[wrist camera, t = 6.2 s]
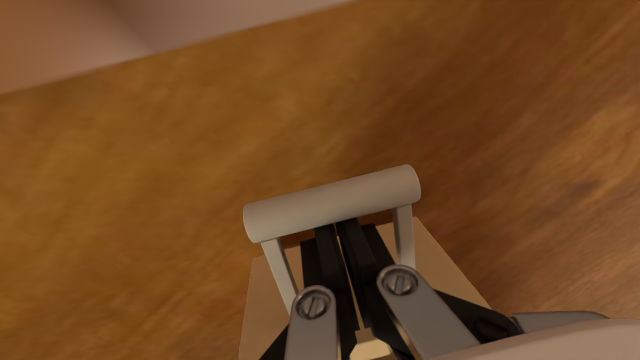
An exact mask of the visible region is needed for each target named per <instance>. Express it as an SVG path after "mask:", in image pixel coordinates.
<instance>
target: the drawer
mask: <svg viewBox="0 0 640 360" xmlns="http://www.w3.org/2000/svg"><path fill="white" fill-rule="evenodd" d="M420 197H421V188H420V183H419V179H418V177H417V174H416V172H415V170H414V169H413V167H412V166H410V165H408V164H405V165H401V166H397V167H393V168H389V169H385V170H381V171H377V172H373V173H369V174H365V175H361V176H357V177H353V178H348V179H344V180H340V181H336V182H332V183H328V184H324V185H320V186H316V187H312V188H308V189H304V190H300V191H296V192H292V193H288V194H284V195H280V196H276V197H272V198H268V199H264V200H260V201H256V202H252V203H248V204H246V205H245V206H244V208H243V220H244V225H245V229H246V232H247V235H248V237H249V239H250V240H251V241H252V242H254V243H256V242H260V241H261V245H262V248H263V250H264V253H265V255H261V256H257V257H253V260H252V267H251V274H250V281H249V287H248V294H247V301H246V308H245V315H244V322H243V328H242V335H241V342H240V349H239V356H238V360H259V359H260V357H261V356H262V355H263V354H264V353H265V351H266V350H267V349H268V348H269V347H270V345H271V344H272V343H273V342H274V340H275V339H276V338H277V337H278V336H279V334H280V333H281V332H282V331H283V330H284V328H285V327H286V326H287V325H288V324H289V320H290V312H291V305H292V302H293V300H294V298H295V297H296V295H297V294H298V293H299V292H300V291H301V290H303V289H304V282H303V272H302V261H301V250H300V246H297V247H293V248H289V249H285V250H284V248H283V246H282V243H281V240H280V236H284V235H288V234H292V233H296V232H300V231H304V230H308V229H312V228H316V227H320V226H324V225H328V224H332V223H336V222H340V221H344V220H348V219H352V218H356V217H359V216H363V215H367V214H371V213H375V212H379V211H383V210H387V209H391V208H392V217H393V222H391V223H387V224H383V225H380V226H376V228H377V230H378V232H379V234H380V236H381V238H382V239H383V241H384V243H385V245H386V247H387V249H388V250H389V252H390V254H391V256H392V258H393V260H394V262H395V263H396V264H402V265H406V266H409V267H411V268H414V269H415V270H416V271H417V272H419V273H420V275H421V276H422V277H423V278H424V279H425V280H426V282H427V283H428V284H429V285H430V286H431V287H432V288H433V289H436V290H439V291H441V292H444V293H447V294H450V295H452V296H455V297H458V298H461V299H464V300H466V301H469V302H472V303H475V304H477V305H480V306H483V307H486V308H488V309H491V310H492V308H491V307H490V306H489V305H488V304H487V302H486V301H485V300H484V299H483V297H482V296H481V295H480V294H479V293H478V291H477V290H476V289H475V288H474V286H473V285H472V284H471V283H470V282H469V280H468V279H467V278H466V277H465V276H464V274H463V273H462V272H461V271H460V269H459V268H458V267H457V266H456V265H455V263H454V262H453V261H452V260H451V258H450V257H449V256H448V255H447V254H446V252H445V251H444V250H443V249H442V248H441V246H440V245H439V244H438V243H437V241H436V240H435V239H434V238H433V237H432V235H431V234H430V233H429V232H428V230H427V229H426V228H425V227H424V226H423V224H422V223H421V222H420V221H419V220H418V218H417V217H412V207H411V203H415V202H418V201H419V200H420ZM337 239H338V242H339V246H340V249H341V245H340V241H339V236H337ZM341 252H342V250H341ZM342 256H343V254H342ZM343 259H344V258H343ZM344 262H345V261H344ZM345 266H346V265H345ZM346 270H347V268H346ZM347 273H348V271H347ZM348 278H349V275H348ZM349 282H350V286H351V291H352V295H353V300H354V304H355V309H356V313H357V318H358V322H359V326H360V330H358V331H355V334H356V338H357V344H356V346H355V348H354V349H353V351H352V353H351V354H350V356H351V360H393V358H392V356H391V354H390V352H389V350H388V347H387V344H386V343H384V342H383V341H381V340H379V339H377V338H375V337H373V335H372V332H371V328H366V329H365V328H364V325H363V321H362V318H361V315H360V311H359V308H358V305H357V301H356V298H355V295H354V291H353V288H352V285H351V281H350V278H349Z"/></svg>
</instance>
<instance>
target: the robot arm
mask: <svg viewBox="0 0 640 360" xmlns="http://www.w3.org/2000/svg"><path fill="white" fill-rule="evenodd" d="M336 228H337V232H338V236H339V241H340V245H341V249H340V246H339V242H338V239H337V236H336V232H335V229H334V226H333V223H332V224H328V225H324V226H320V227H316V228H314V230H315V236H316V238H313V239H309V240H305V241H301V242H300V250H301V261H302V272H303V282H304V289H303V290H301V291H300V292H299V293H298V294H297V295H296V297H295V298H294V300H293V302H292V305H291V312H290V320H289V324H288V325H287V326H286V327H285V328H284V330H283V331H282V332H281V333H280V334H279V336H278V337H277V338H276V339H275V340H274V342H273V343H272V344H271V345H270V347H269V348H268V349H267V350H266V351H265V353H264V354H263V355H262V356H261V357H260V359H259V360H351V356H350V354H351V353H352V351H353V349H354V348H355V346H356V344H357V338H356V334H355V331H358V330H360V326H359V322H358V318H357V313H356V309H355V304H354V300H353V295H352V291H351V286H350V282H349V278H350V281H351V285H352V288H353V291H354V295H355V298H356V301H357V305H358V308H359V311H360V315H361V318H362V321H363V325H364V328H365V329H366V328H371V332H372V335H373V337H375V338H377V339H379V340H381V341H383V342H384V343H386V344H387V347H388V350H389V352H390V354H391V356H392V358H393V360H640V320H639V319H610V318H608V317H606V316H604V315H601V314H598V313H595V312H591V311H554V312H524V313H513V315H512V317H506V316H505V315H503V314H500V313H498V312H496V311H494V310H491V309H488V308H486V307H483V306H480V305H477V304H475V303H472V302H469V301H466V300H464V299H461V298H458V297H455V296H452V295H450V294H447V293H444V292H441V291H439V290H436V289H433V288H432V287H431V286H430V285H429V284H428V283H427V282H426V280H425V279H424V278H423V277H422V276H421V275H420V273H419V272H417V271H416V270H415V269H414V268H411V267H409V266H406V265H402V264H396V263H395V262H394V260H393V258H392V256H391V254H390V252H389V250H388V249H387V247H386V245H385V243H384V241H383V239H382V238H381V236H380V234H379V232H378V230H377V228H376V226H375V225H374V224H373V223H372V224H368V225H364V226H360V225H359V222H358V220H357V218H352V219H348V220H344V221H340V222H336ZM341 250H342V252H341ZM342 254H343V256H342ZM343 258H344V259H343ZM344 261H345V262H344ZM345 265H346V266H345ZM346 268H347V270H346ZM347 271H348V273H347ZM348 275H349V278H348Z"/></svg>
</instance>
